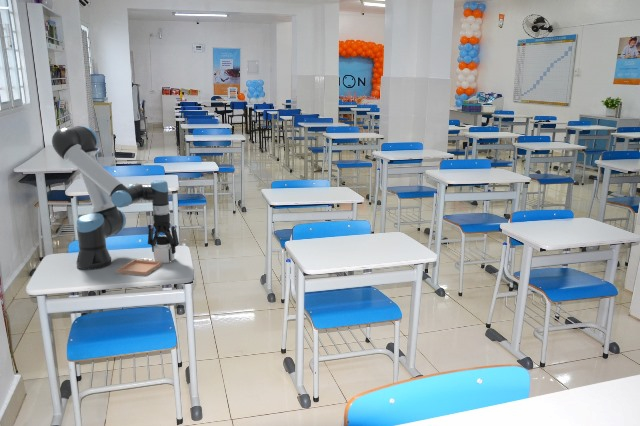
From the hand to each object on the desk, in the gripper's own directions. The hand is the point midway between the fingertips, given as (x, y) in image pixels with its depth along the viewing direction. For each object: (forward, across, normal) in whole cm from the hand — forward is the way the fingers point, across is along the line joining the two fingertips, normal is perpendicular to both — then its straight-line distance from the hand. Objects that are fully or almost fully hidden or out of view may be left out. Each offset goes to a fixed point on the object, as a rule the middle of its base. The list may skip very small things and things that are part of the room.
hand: (164, 259), depth 253 cm
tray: (+1, -5, -14) cm, 14 cm away
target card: (+1, -9, -3) cm, 10 cm away
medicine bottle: (+1, 0, 0) cm, 1 cm away
